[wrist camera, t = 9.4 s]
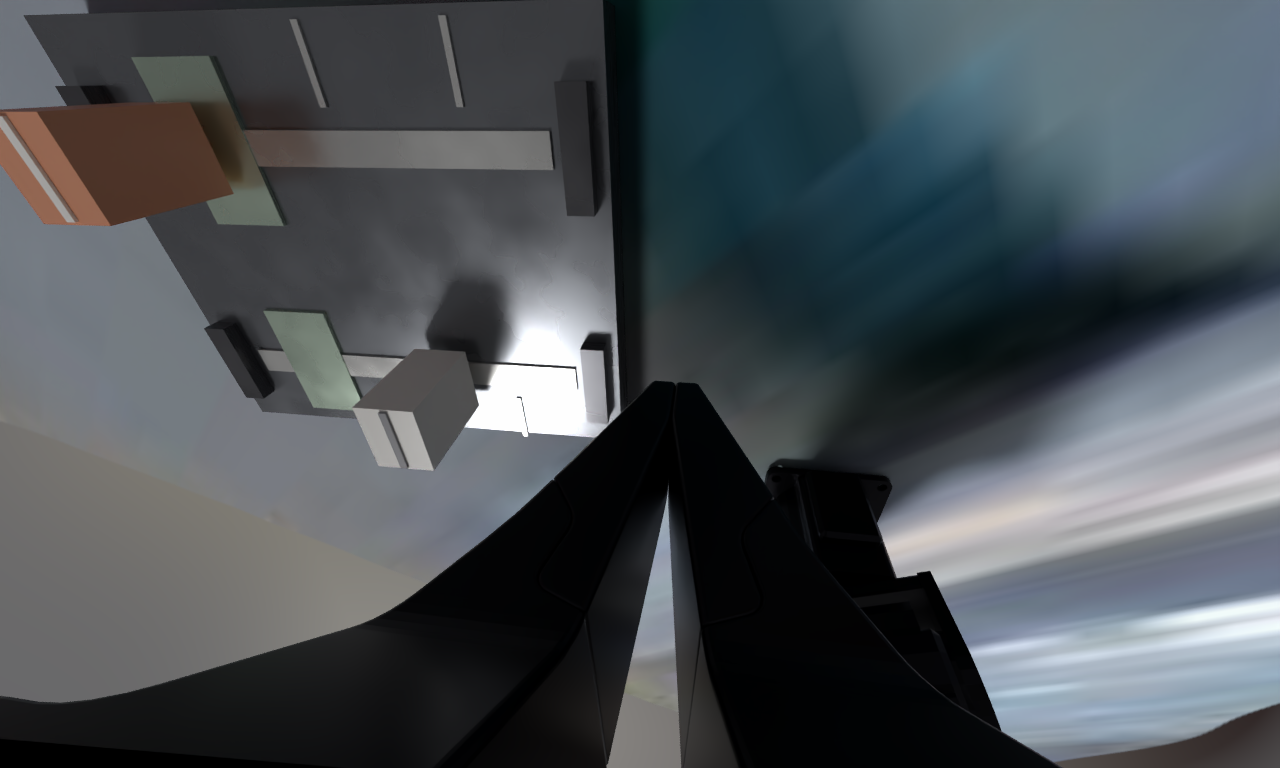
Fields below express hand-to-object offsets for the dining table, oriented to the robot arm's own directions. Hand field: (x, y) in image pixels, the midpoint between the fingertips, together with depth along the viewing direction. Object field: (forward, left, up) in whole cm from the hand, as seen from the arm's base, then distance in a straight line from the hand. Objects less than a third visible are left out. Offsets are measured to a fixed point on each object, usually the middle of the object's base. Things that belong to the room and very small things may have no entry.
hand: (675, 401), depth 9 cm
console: (-2, +13, -12) cm, 18 cm away
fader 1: (+3, +19, -9) cm, 21 cm away
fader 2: (-7, +11, -9) cm, 16 cm away
